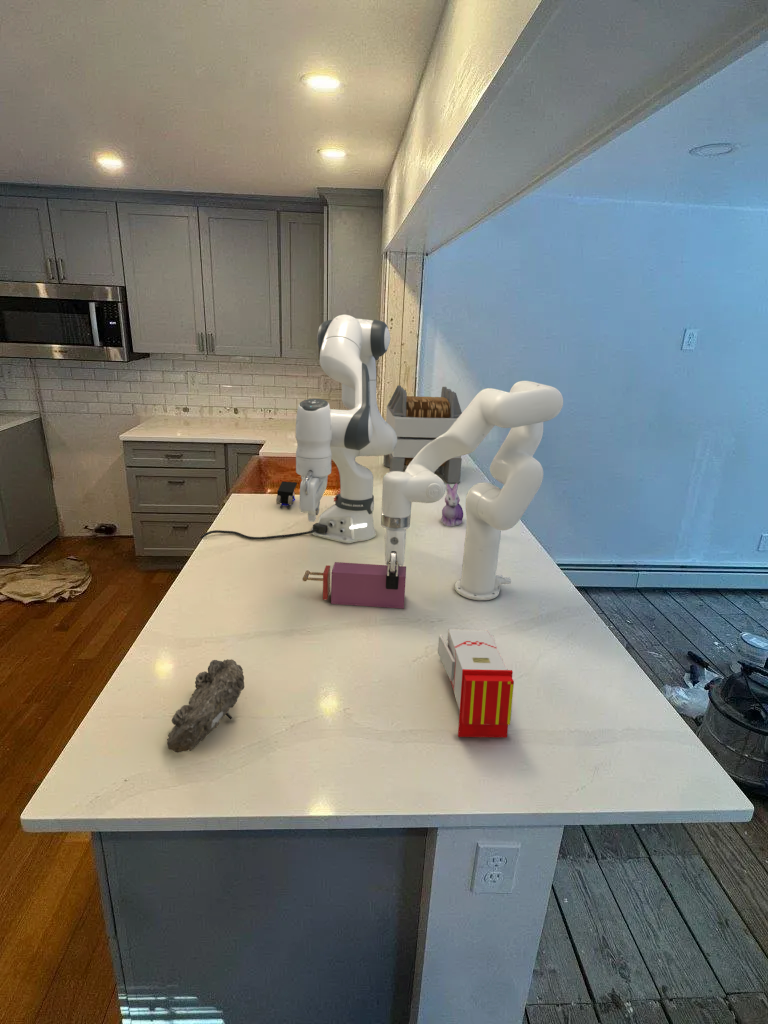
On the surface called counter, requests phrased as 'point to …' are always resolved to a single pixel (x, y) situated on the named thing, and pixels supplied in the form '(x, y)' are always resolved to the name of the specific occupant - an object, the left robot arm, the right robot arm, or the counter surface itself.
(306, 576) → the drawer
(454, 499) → the figurine
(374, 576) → the cabinet
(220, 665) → the fossil
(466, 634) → the toy
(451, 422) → the transformer
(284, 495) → the figurine character
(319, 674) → the counter surface
